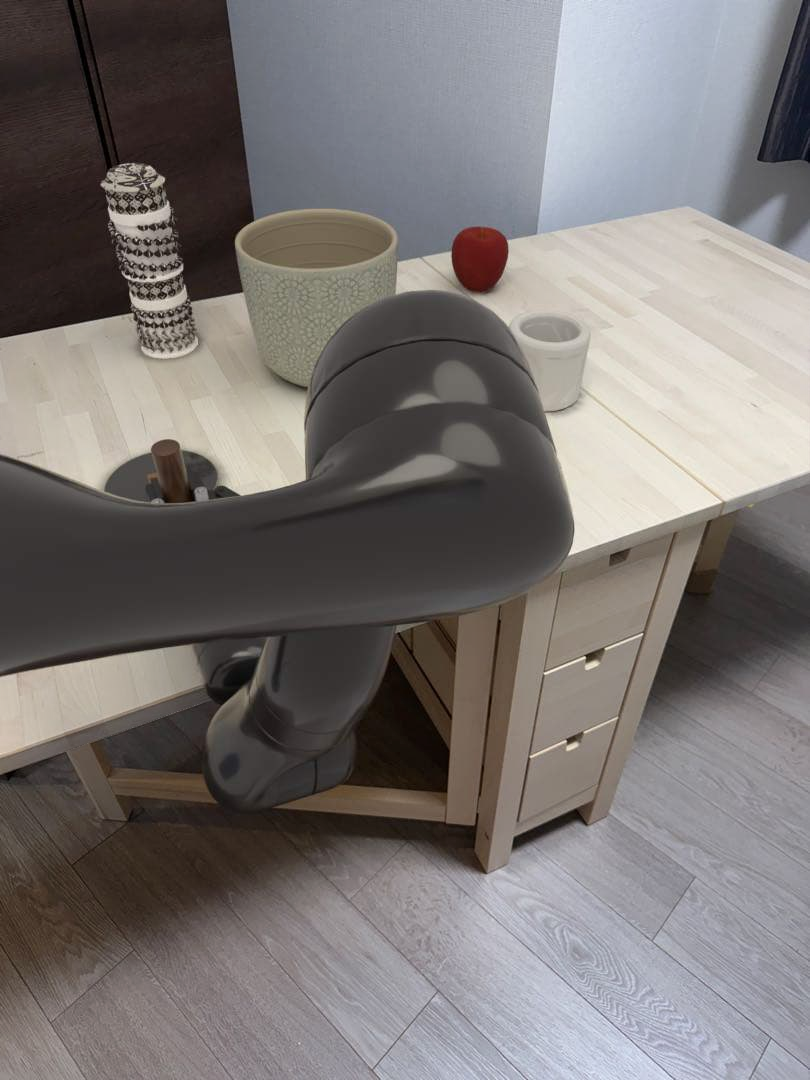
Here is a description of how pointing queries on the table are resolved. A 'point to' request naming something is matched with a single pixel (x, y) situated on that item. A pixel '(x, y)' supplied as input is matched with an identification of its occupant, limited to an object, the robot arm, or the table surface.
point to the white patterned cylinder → (150, 259)
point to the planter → (311, 280)
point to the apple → (479, 257)
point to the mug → (553, 353)
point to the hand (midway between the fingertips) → (171, 480)
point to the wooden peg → (171, 471)
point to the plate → (134, 472)
